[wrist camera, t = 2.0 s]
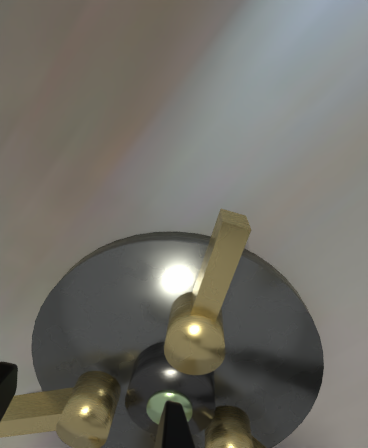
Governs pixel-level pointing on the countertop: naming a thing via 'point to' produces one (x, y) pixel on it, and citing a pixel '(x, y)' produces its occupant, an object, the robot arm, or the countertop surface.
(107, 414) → the knob
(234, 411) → the knob
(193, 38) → the countertop surface
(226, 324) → the tribrach plate
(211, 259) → the knob
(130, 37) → the countertop surface
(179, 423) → the robot arm
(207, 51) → the countertop surface
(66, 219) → the countertop surface
